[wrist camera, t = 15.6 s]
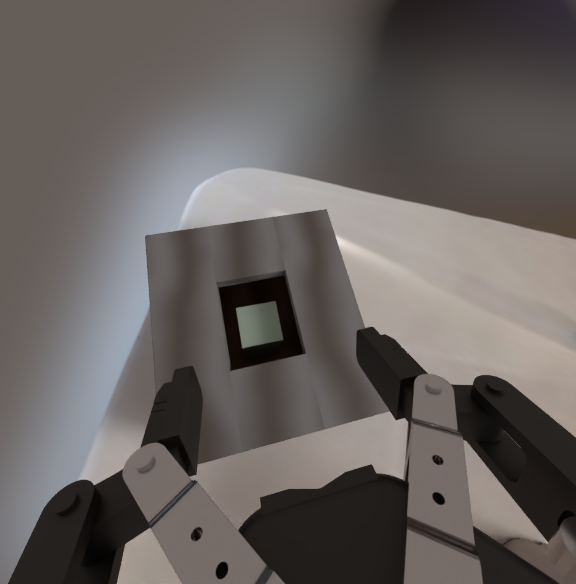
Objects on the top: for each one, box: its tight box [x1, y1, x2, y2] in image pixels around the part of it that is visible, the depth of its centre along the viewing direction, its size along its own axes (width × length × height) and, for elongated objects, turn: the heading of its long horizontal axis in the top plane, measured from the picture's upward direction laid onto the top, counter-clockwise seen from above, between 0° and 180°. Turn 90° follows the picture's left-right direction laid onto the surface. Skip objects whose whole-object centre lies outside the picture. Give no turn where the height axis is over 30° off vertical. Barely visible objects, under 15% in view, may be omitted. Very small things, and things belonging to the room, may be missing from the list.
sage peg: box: [236, 301, 283, 359], centre depth 35 cm, size 4×4×12 cm
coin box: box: [145, 209, 390, 464], centre depth 34 cm, size 20×22×16 cm
